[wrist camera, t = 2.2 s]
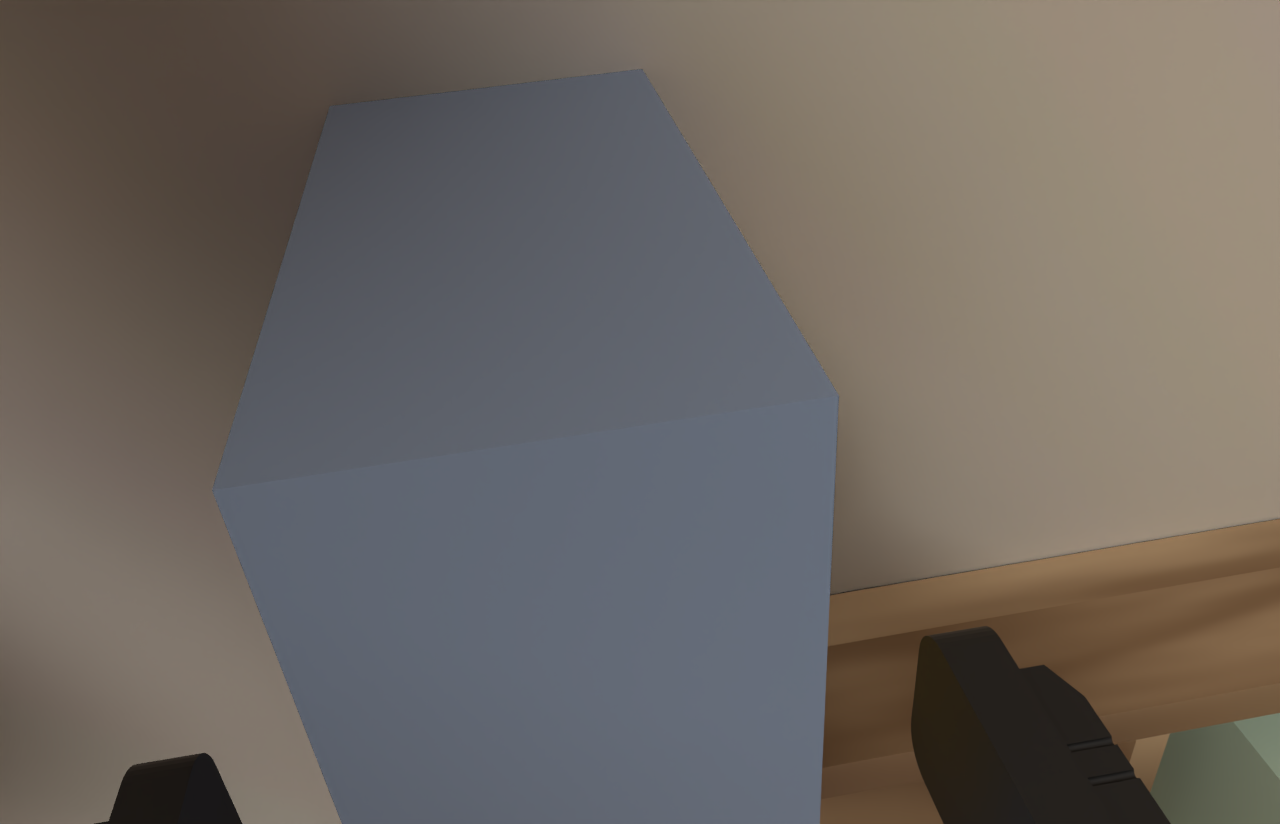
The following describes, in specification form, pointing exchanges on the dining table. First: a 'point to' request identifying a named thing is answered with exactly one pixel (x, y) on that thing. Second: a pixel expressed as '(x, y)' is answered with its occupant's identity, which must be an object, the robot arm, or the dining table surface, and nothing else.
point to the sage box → (1222, 774)
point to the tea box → (537, 473)
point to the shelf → (1059, 653)
